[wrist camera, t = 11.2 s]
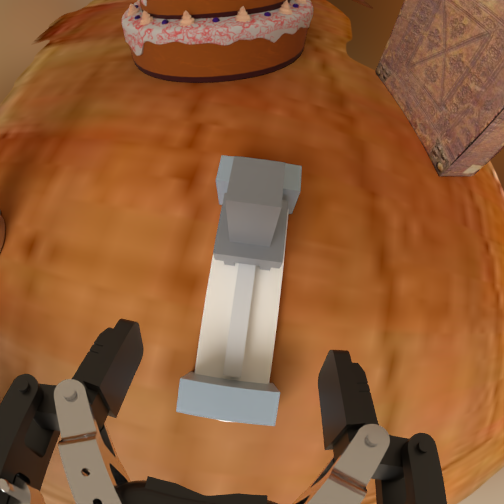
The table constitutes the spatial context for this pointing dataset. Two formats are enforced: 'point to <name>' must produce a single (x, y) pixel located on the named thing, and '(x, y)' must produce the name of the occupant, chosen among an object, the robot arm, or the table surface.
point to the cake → (215, 37)
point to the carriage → (253, 215)
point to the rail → (238, 332)
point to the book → (450, 79)
